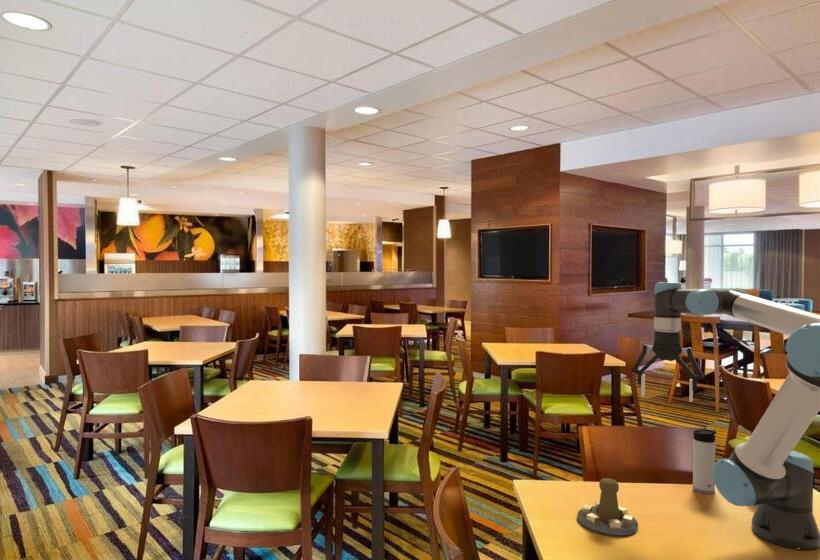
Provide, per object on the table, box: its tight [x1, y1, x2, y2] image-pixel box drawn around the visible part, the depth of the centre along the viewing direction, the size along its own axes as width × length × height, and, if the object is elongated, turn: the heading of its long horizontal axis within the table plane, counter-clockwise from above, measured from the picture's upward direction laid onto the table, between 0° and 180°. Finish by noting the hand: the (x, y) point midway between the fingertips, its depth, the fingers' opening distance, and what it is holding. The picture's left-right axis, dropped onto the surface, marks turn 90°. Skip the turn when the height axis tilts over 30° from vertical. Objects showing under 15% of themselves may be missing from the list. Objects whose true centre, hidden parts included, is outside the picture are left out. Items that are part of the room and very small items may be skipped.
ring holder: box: [577, 501, 639, 538], centre depth 145 cm, size 16×16×3 cm
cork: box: [598, 477, 620, 523], centre depth 145 cm, size 6×6×11 cm
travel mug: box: [692, 428, 718, 495], centre depth 167 cm, size 6×7×20 cm
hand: (666, 398), depth 161 cm, fingers open, 13 cm apart
